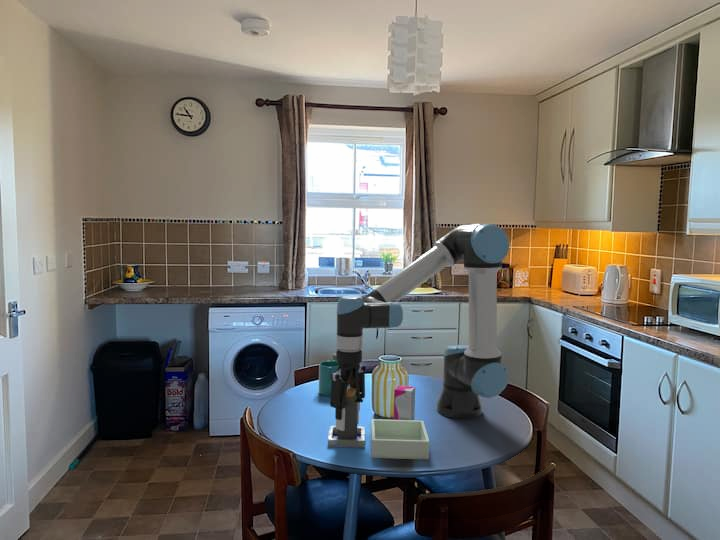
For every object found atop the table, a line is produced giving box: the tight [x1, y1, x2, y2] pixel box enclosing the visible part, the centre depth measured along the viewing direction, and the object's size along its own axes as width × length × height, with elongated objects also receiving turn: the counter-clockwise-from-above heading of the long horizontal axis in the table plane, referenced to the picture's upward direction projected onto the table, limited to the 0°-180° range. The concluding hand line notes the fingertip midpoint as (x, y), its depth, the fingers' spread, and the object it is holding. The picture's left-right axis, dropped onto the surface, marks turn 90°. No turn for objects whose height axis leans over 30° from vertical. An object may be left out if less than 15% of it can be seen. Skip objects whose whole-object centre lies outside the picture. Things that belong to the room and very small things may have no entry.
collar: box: [327, 425, 366, 448], centre depth 156 cm, size 10×10×2 cm
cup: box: [318, 360, 339, 397], centre depth 199 cm, size 9×12×11 cm
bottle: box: [336, 386, 358, 439], centre depth 156 cm, size 6×6×15 cm
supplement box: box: [392, 385, 416, 420], centre depth 171 cm, size 6×6×12 cm
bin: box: [370, 418, 430, 460], centre depth 152 cm, size 16×16×5 cm
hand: (347, 426), depth 156 cm, fingers closed on bottle, 6 cm apart
